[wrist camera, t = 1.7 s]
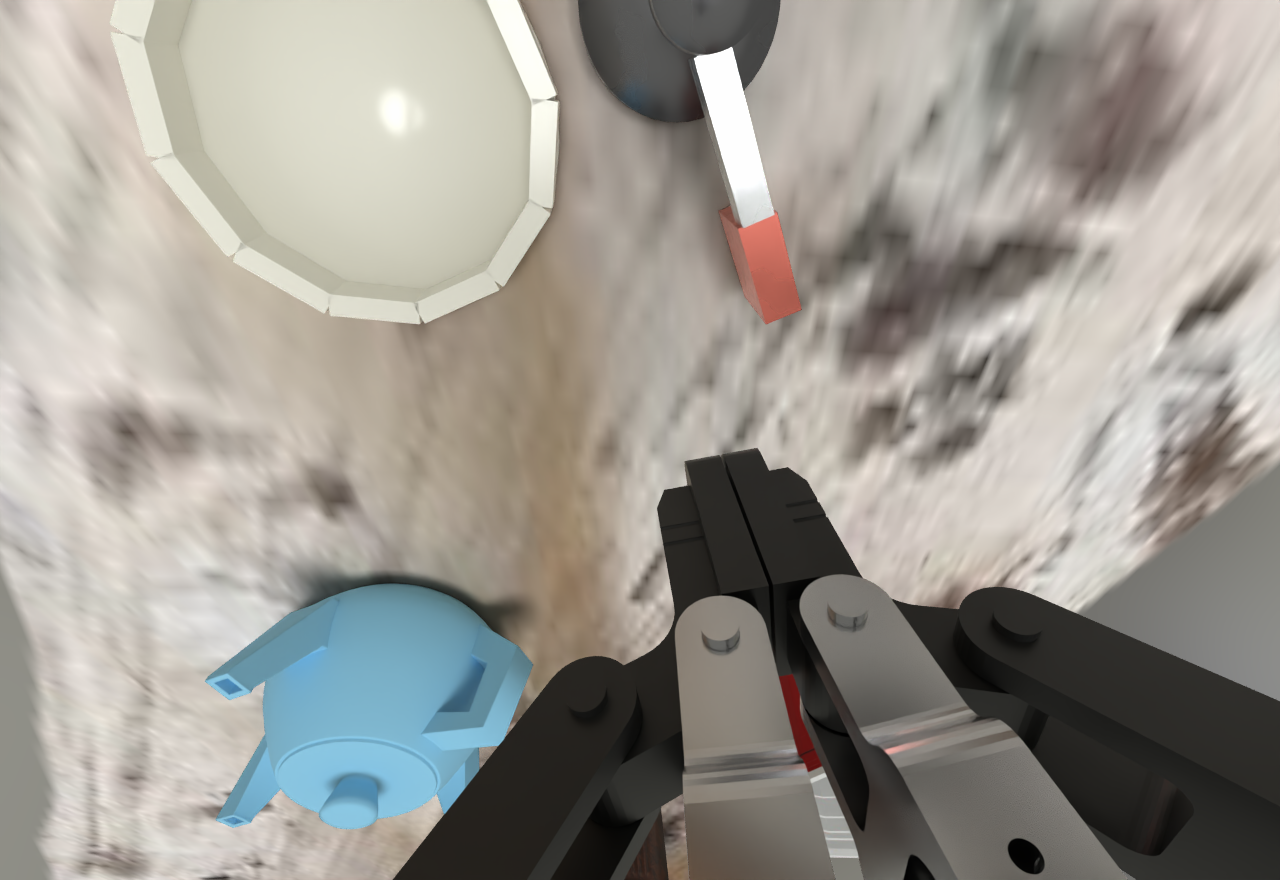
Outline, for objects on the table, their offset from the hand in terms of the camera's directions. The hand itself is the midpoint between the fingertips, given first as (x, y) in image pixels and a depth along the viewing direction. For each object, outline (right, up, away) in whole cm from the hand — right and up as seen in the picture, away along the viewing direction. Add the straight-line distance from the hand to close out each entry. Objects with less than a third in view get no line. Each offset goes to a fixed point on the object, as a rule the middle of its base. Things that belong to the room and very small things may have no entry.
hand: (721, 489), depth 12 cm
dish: (-12, +13, +10) cm, 20 cm away
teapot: (-18, -13, +26) cm, 34 cm away
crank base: (0, +17, +9) cm, 19 cm away
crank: (+2, +11, +11) cm, 16 cm away
